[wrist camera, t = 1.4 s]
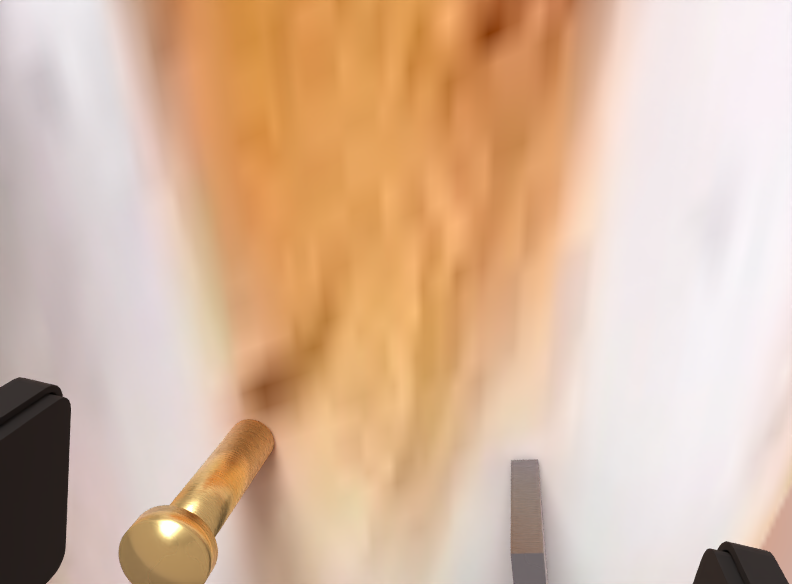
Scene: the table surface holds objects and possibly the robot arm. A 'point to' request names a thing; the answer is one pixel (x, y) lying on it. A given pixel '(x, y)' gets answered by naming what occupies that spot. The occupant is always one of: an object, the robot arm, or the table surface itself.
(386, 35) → the table surface
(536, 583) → the hinge bracket
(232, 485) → the hinge pin
